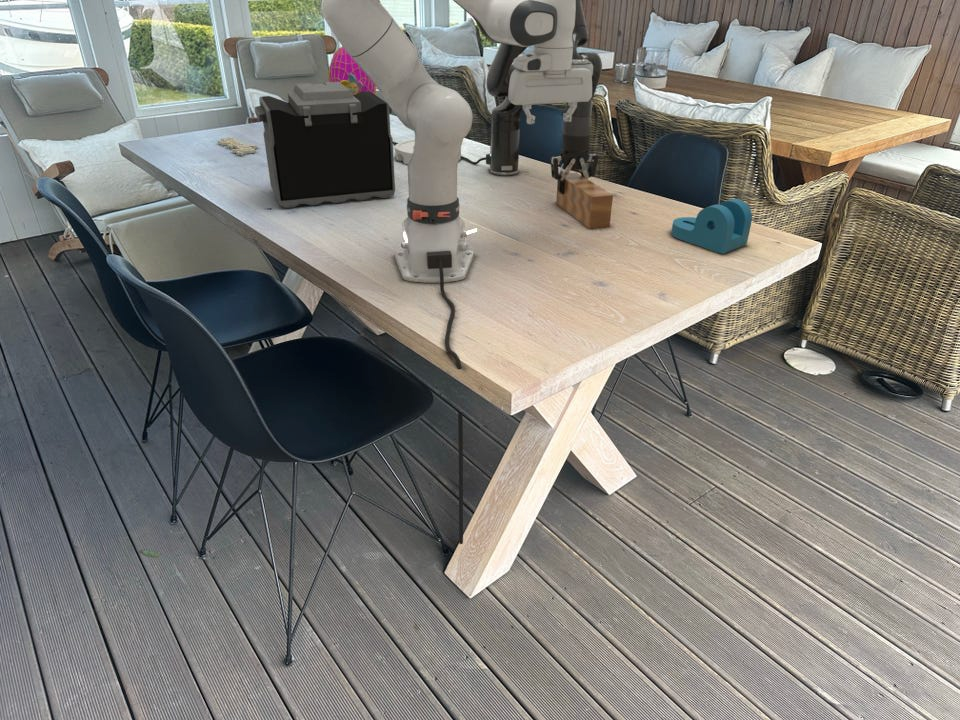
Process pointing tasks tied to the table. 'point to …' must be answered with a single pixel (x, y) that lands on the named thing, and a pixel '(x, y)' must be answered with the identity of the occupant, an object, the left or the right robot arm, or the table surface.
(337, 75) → the decorative egg
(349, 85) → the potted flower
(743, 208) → the camera mount
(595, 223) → the box
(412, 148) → the ashtray
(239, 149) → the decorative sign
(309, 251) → the table surface
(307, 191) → the electronic device
